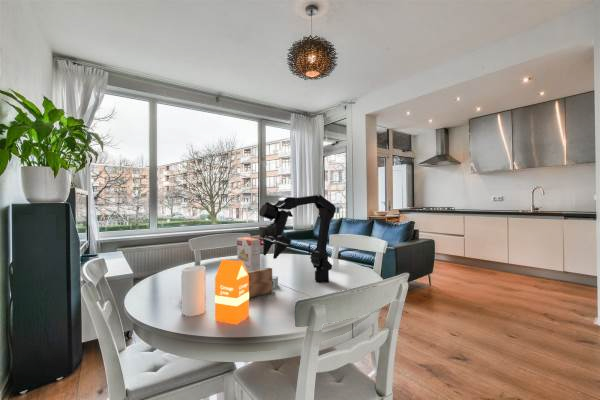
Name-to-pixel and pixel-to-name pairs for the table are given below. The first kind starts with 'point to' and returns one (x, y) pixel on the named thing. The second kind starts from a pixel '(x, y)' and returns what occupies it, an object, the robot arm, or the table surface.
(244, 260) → the cracker box
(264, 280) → the brown wooden block
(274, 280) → the letter cube
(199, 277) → the cup
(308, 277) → the table surface
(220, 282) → the orange juice
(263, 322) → the table surface
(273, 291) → the rail
